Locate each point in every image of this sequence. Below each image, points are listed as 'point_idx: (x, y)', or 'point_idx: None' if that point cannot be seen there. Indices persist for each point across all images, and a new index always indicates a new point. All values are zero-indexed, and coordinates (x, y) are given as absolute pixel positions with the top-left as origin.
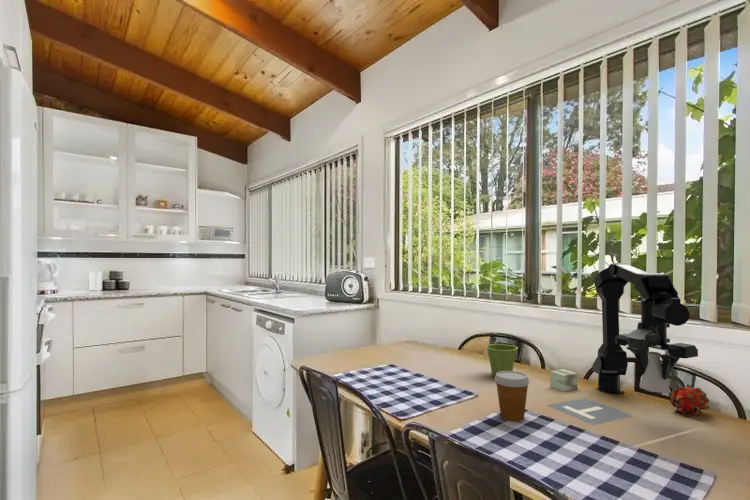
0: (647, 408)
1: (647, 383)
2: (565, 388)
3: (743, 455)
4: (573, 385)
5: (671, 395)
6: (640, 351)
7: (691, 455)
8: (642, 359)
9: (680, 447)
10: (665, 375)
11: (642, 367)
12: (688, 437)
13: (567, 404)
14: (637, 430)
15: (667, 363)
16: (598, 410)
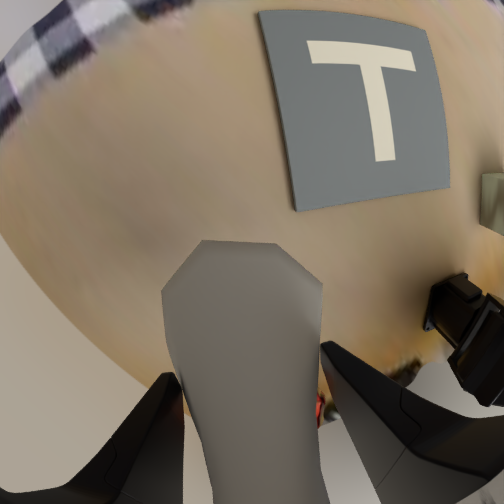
0: (337, 315)
1: (227, 274)
2: (491, 180)
3: (40, 288)
4: (493, 214)
5: (321, 394)
6: (424, 491)
7: (37, 165)
8: (377, 433)
9: (70, 172)
10: (146, 394)
11: (342, 371)
12: (122, 254)
13: (424, 83)
14: (195, 131)
15: (80, 472)
16: (367, 128)
